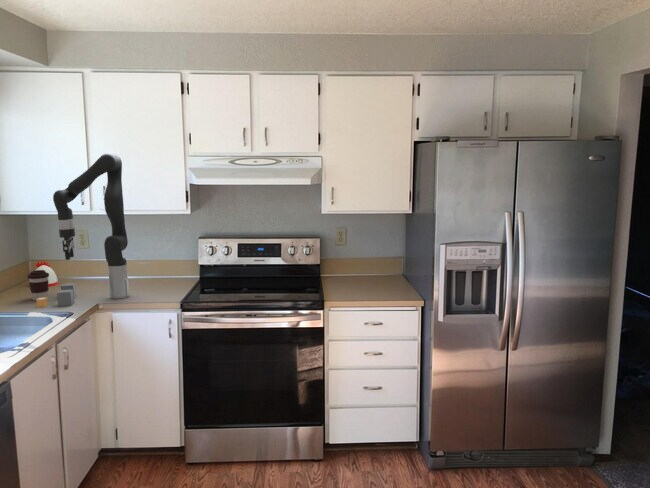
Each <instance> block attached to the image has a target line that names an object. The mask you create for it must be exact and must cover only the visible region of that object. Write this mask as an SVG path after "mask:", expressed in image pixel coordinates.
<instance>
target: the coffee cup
mask: <svg viewBox="0 0 650 488" xmlns="http://www.w3.org/2000/svg"><path fill="white" fill-rule="evenodd" d="M35 270H36V269H35ZM35 270H32V271H30V273H29V274H27V275H26V276H27V279H28V280H29V281H28V283H29V288H30V293H31V298H32V301H36V300H37V299H38V298H45V297H47V299H48V298H49V287H48V276H49V273H46V271H45V270H36V271H35Z"/></svg>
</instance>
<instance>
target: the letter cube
mask: <svg viewBox="0 0 650 488" xmlns="http://www.w3.org/2000/svg"><path fill="white" fill-rule="evenodd" d="M48 303H49V301H48V298H47V297H45V298H38V299H37V300H36V308H37V307H38V308H46V307H47V306H48V305H49V304H48Z"/></svg>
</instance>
